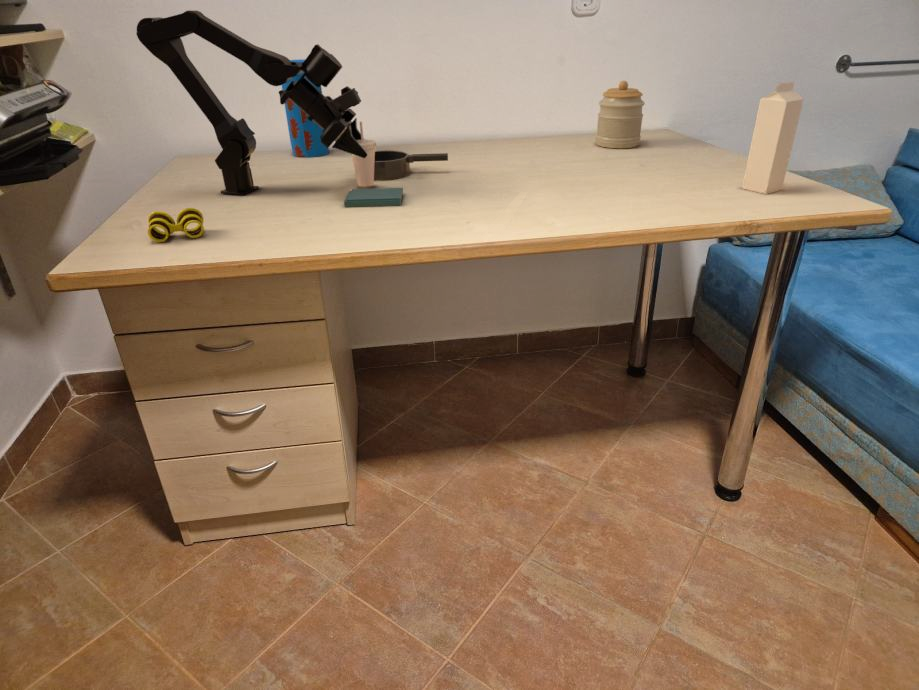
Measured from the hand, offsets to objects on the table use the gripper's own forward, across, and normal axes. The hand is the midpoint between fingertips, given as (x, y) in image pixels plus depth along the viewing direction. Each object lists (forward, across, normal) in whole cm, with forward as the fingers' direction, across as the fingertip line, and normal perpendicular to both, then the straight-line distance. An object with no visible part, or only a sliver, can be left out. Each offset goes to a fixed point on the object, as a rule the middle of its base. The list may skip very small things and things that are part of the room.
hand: (367, 153), depth 139 cm
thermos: (-10, +42, +22) cm, 48 cm away
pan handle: (+13, +14, -6) cm, 20 cm away
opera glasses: (-18, -32, +29) cm, 47 cm away
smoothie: (+4, 0, +6) cm, 7 cm away
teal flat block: (+7, -11, +4) cm, 14 cm away
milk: (+68, -10, -57) cm, 90 cm away
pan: (+7, +14, +4) cm, 16 cm away
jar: (+55, +42, -44) cm, 82 cm away
